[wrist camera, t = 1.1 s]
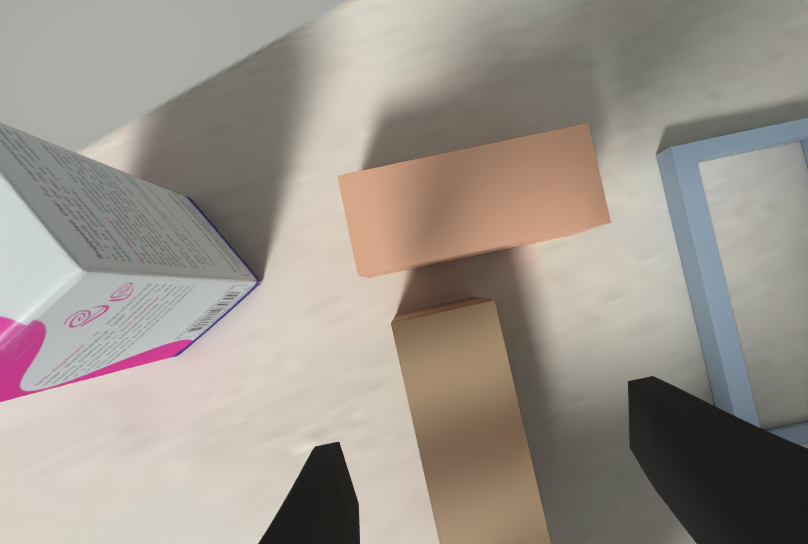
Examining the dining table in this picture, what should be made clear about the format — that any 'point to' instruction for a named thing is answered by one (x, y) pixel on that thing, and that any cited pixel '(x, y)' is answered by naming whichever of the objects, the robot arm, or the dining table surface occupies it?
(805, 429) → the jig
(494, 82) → the dining table surface
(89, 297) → the supplement box
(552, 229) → the pinkish tan block
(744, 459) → the robot arm
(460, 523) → the wooden block on base
